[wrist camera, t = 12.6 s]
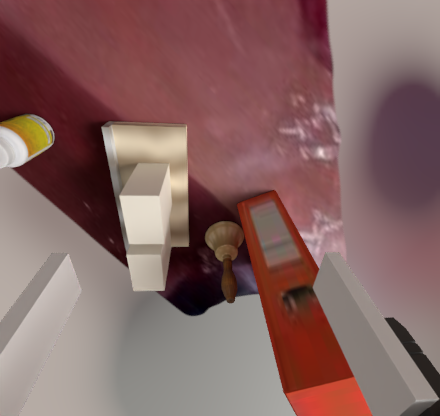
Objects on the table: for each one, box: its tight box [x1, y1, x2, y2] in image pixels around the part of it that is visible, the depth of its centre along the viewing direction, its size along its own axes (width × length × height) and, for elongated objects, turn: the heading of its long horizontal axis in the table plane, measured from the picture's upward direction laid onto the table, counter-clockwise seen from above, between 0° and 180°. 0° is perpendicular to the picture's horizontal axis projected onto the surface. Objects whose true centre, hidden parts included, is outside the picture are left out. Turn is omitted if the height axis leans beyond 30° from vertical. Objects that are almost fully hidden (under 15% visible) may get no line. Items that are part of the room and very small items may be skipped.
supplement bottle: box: [0, 114, 54, 168], centre depth 35 cm, size 6×6×10 cm
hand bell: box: [205, 221, 244, 303], centre depth 46 cm, size 8×8×16 cm
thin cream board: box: [101, 121, 189, 252], centre depth 44 cm, size 24×12×4 cm, turn 177°
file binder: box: [237, 190, 373, 416], centre depth 39 cm, size 8×17×32 cm, turn 20°
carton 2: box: [126, 220, 171, 291], centre depth 44 cm, size 8×5×11 cm, turn 177°
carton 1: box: [119, 163, 172, 244], centre depth 38 cm, size 8×5×11 cm, turn 178°
